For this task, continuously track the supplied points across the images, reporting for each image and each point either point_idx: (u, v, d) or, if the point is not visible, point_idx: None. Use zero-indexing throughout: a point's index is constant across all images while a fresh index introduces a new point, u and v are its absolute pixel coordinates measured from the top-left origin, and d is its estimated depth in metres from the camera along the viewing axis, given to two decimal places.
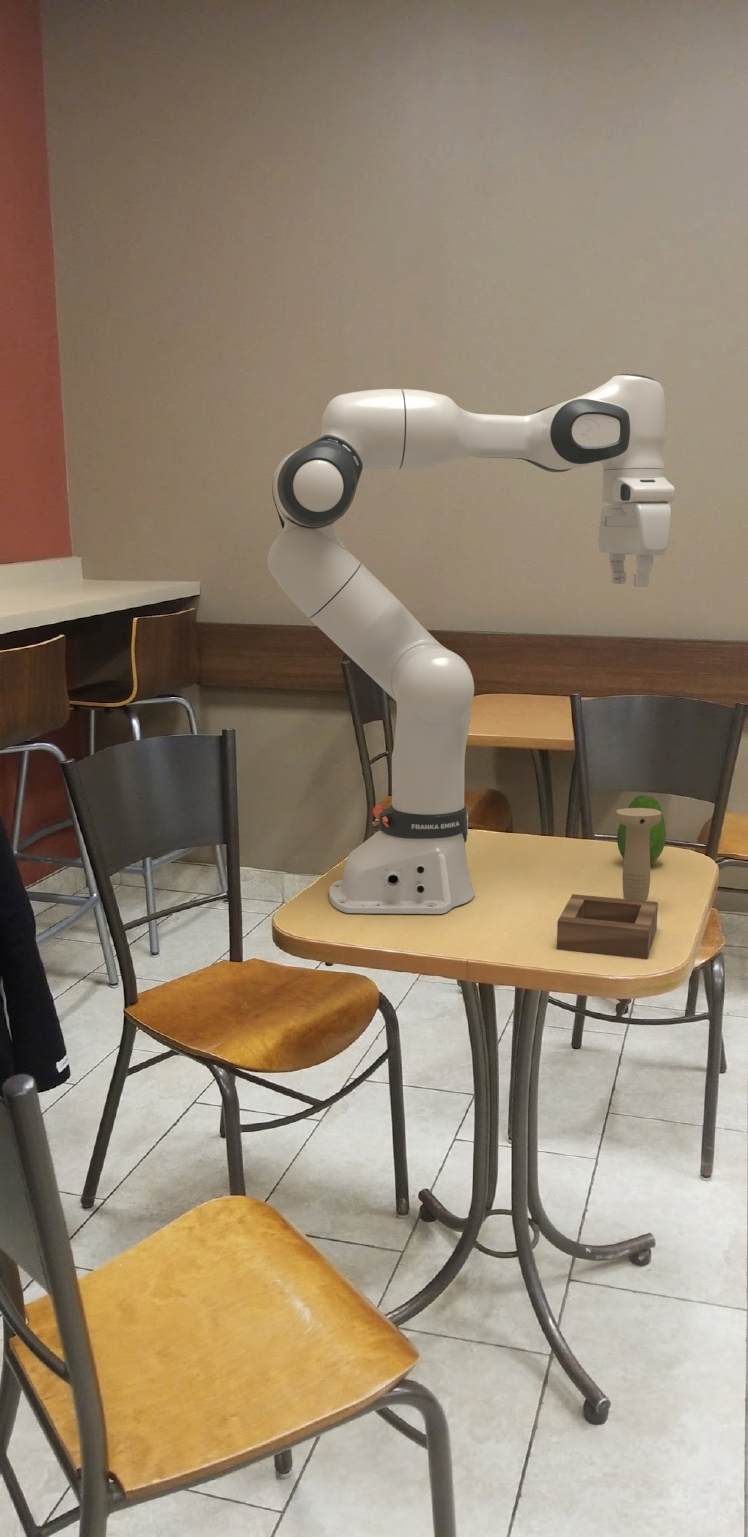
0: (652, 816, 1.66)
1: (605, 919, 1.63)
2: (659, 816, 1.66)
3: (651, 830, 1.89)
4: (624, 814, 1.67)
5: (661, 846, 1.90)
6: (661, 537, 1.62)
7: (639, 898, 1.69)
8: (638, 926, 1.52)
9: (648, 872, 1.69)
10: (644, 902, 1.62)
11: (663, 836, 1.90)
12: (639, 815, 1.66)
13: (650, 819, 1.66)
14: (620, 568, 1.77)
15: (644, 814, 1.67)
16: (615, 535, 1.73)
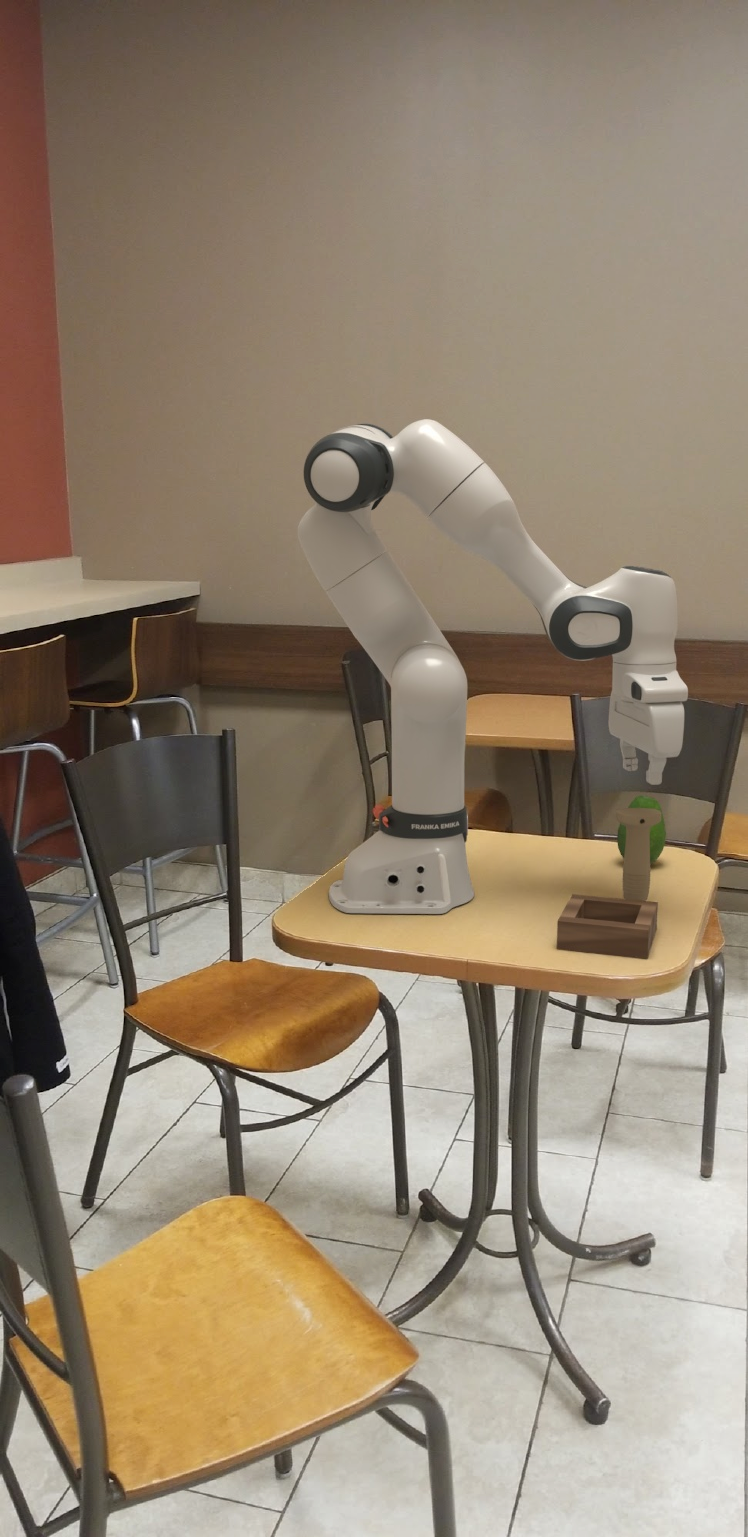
0: (652, 816, 1.66)
1: (605, 919, 1.63)
2: (659, 816, 1.66)
3: (651, 830, 1.89)
4: (624, 814, 1.67)
5: (661, 846, 1.90)
6: (674, 740, 1.56)
7: (639, 898, 1.69)
8: (638, 926, 1.52)
9: (648, 872, 1.69)
10: (644, 902, 1.62)
11: (663, 836, 1.90)
12: (639, 815, 1.66)
13: (650, 819, 1.66)
14: (631, 754, 1.71)
15: (644, 814, 1.67)
16: (626, 725, 1.67)
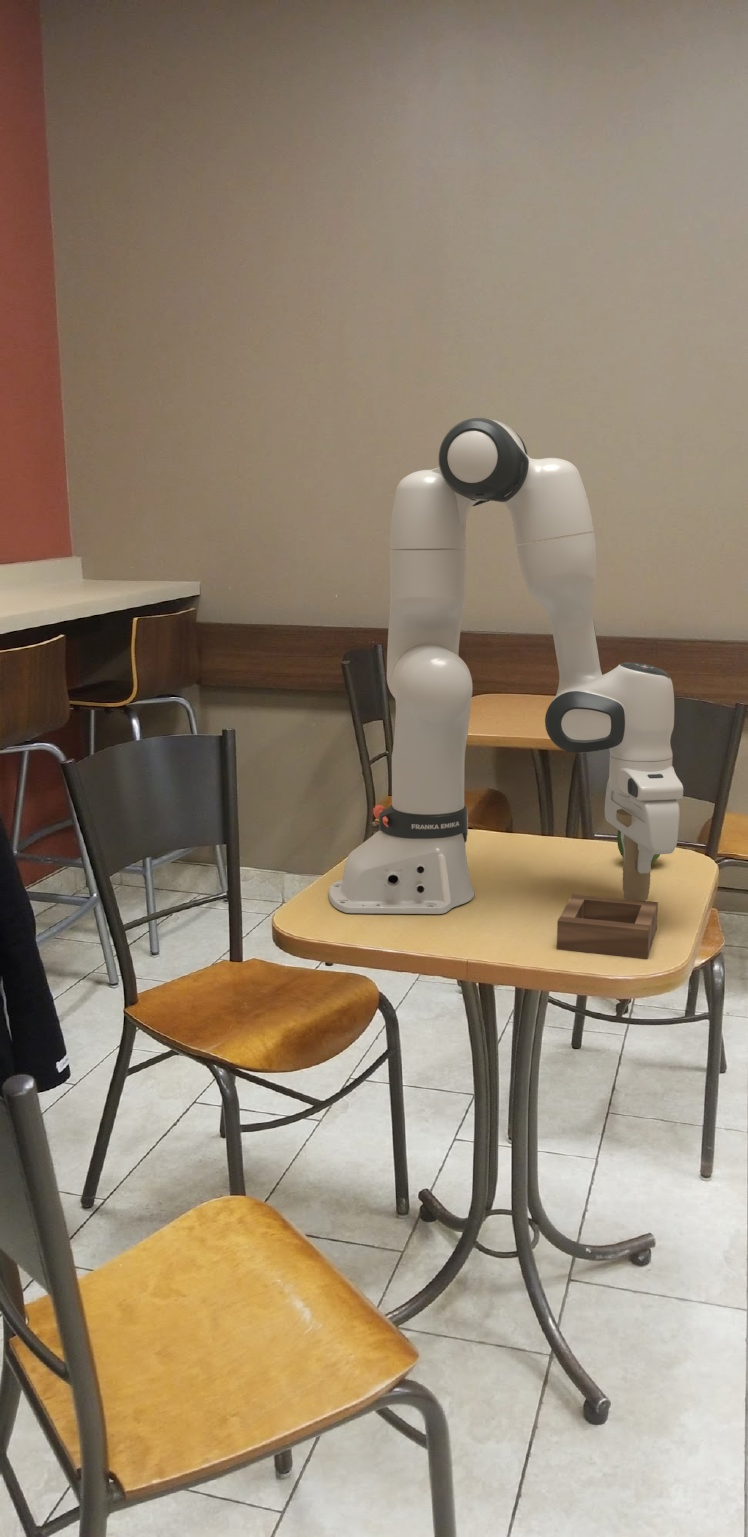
0: None
1: (605, 919, 1.63)
2: None
3: None
4: (624, 814, 1.67)
5: None
6: (669, 837, 1.59)
7: (639, 898, 1.69)
8: (638, 926, 1.52)
9: None
10: (644, 902, 1.62)
11: None
12: None
13: None
14: None
15: None
16: None
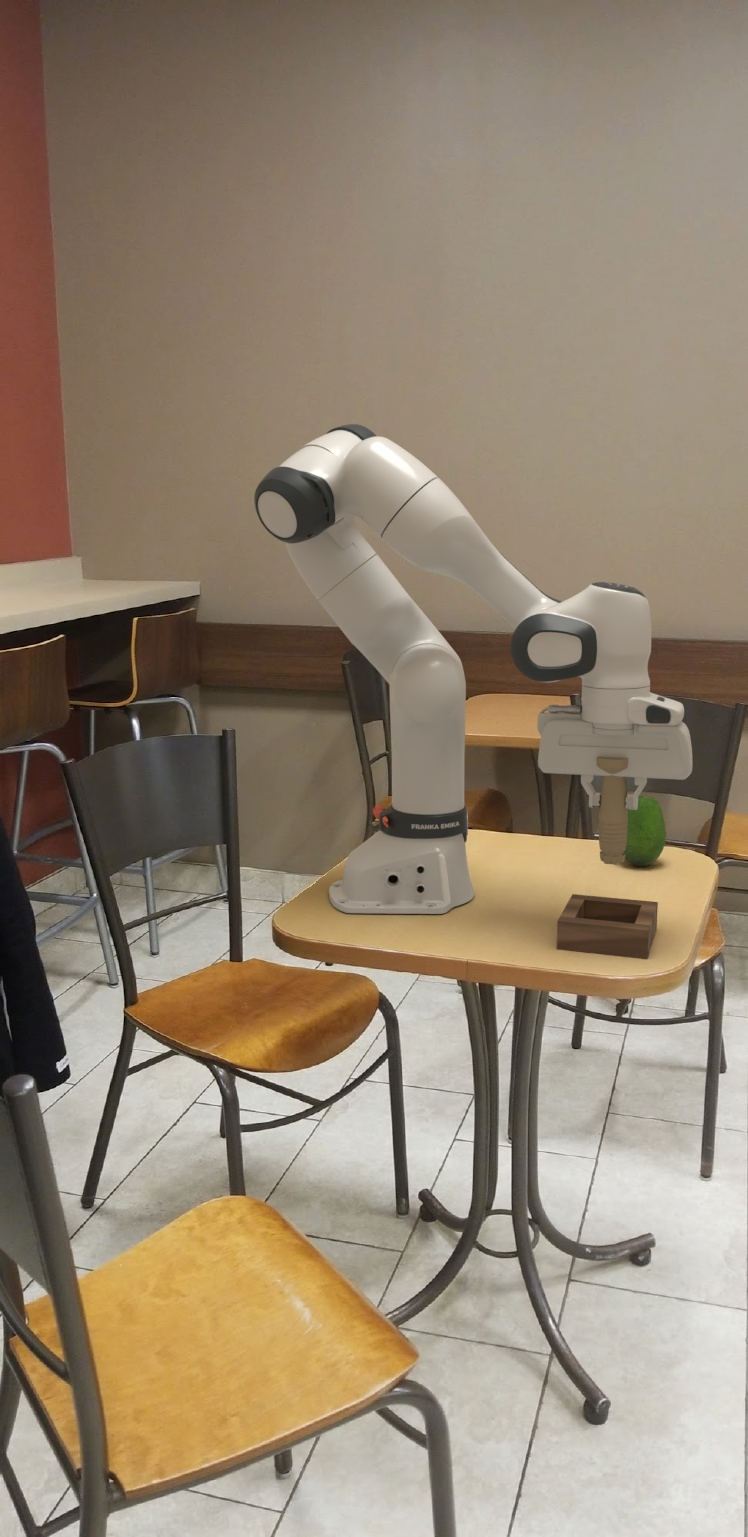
0: None
1: (605, 919, 1.63)
2: None
3: (651, 830, 1.89)
4: (620, 759, 1.51)
5: (661, 846, 1.90)
6: None
7: (625, 846, 1.56)
8: (638, 926, 1.52)
9: None
10: (644, 902, 1.62)
11: (663, 836, 1.90)
12: None
13: None
14: (593, 789, 1.56)
15: None
16: (598, 756, 1.53)
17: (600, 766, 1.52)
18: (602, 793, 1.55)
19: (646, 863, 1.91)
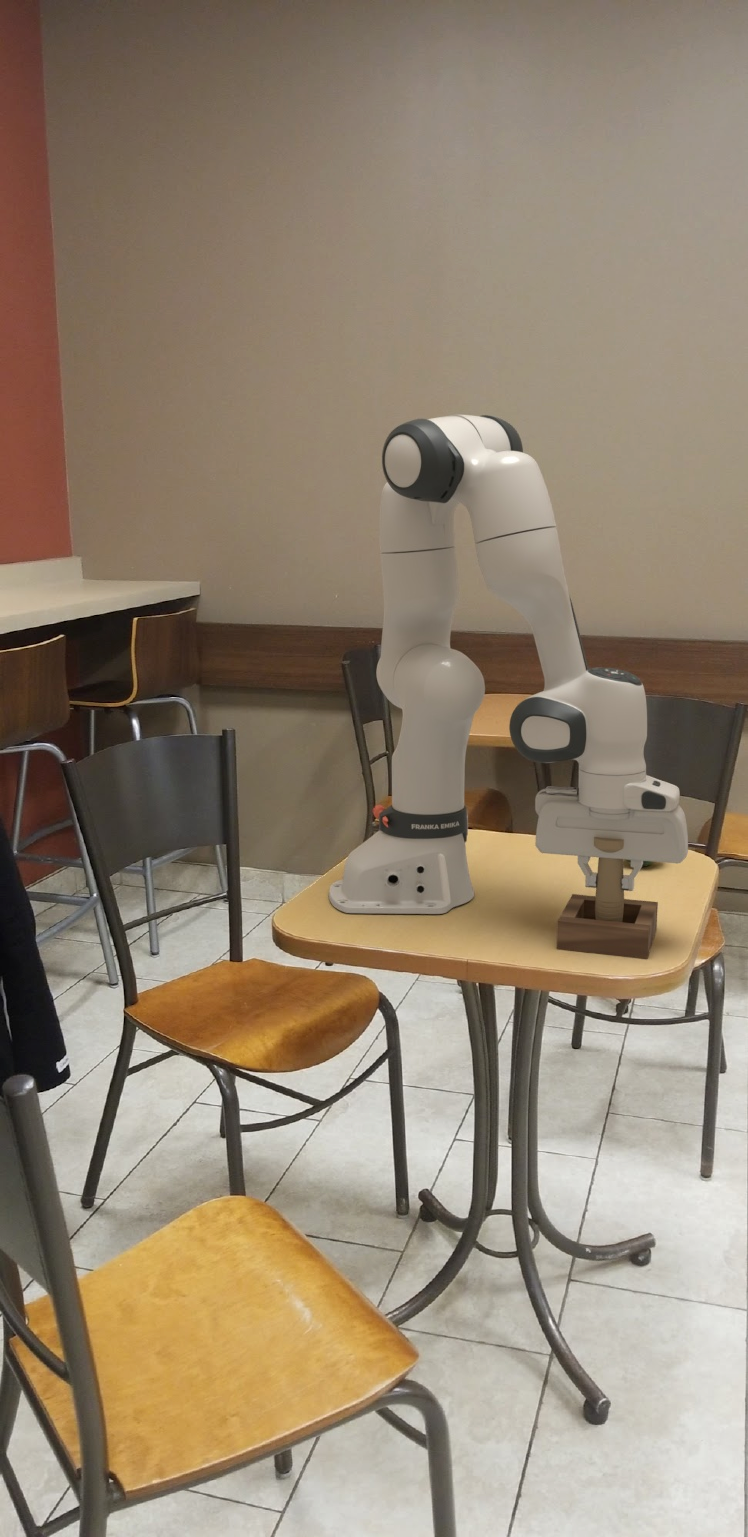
0: None
1: None
2: None
3: None
4: (617, 840, 1.53)
5: None
6: (687, 841, 1.53)
7: None
8: (638, 926, 1.52)
9: None
10: (644, 902, 1.62)
11: None
12: None
13: None
14: (589, 869, 1.58)
15: None
16: None
17: (597, 846, 1.54)
18: (599, 872, 1.57)
19: (646, 863, 1.91)
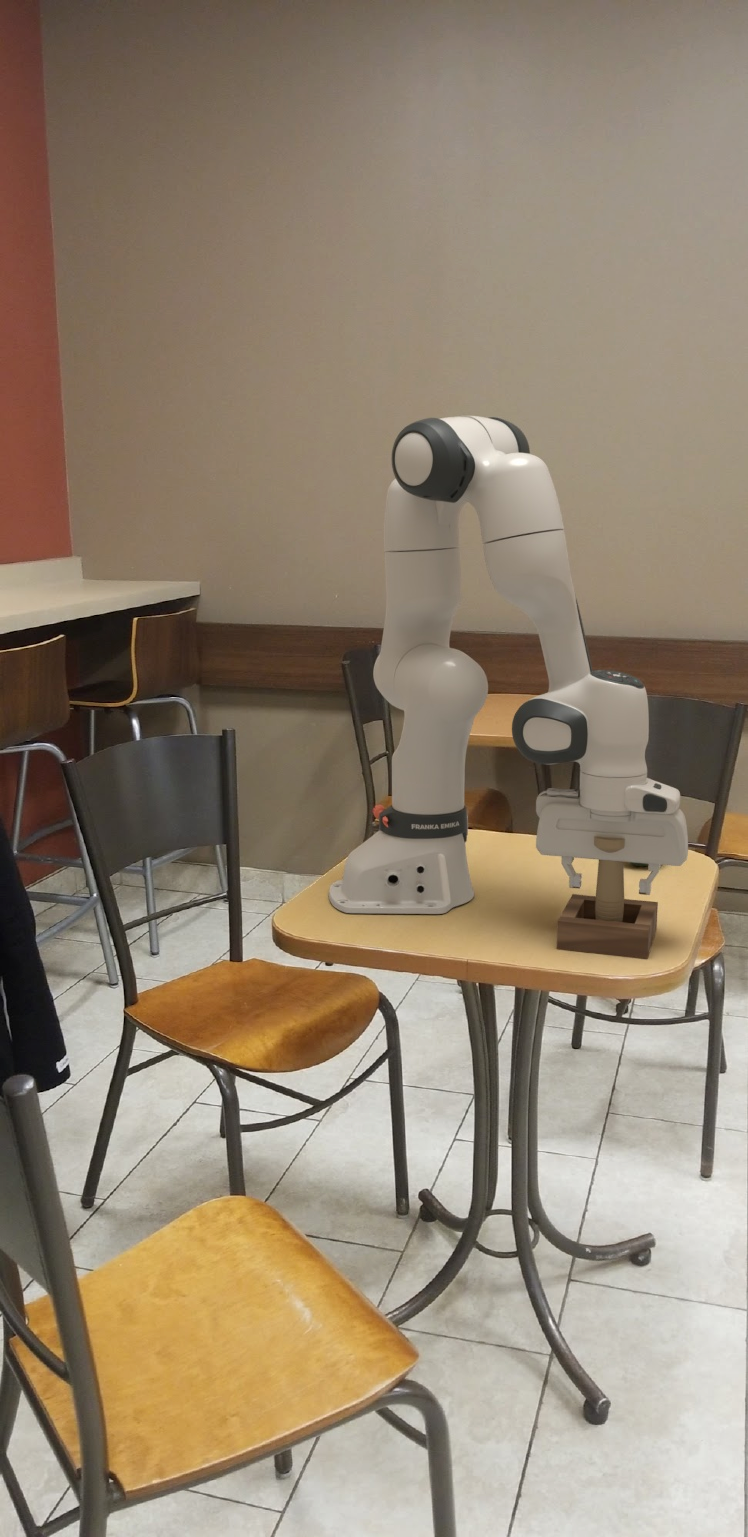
0: None
1: None
2: None
3: None
4: (617, 839, 1.54)
5: None
6: (687, 844, 1.54)
7: None
8: (638, 926, 1.52)
9: None
10: (644, 902, 1.62)
11: None
12: None
13: None
14: (573, 870, 1.59)
15: None
16: None
17: (597, 846, 1.54)
18: (599, 871, 1.57)
19: None
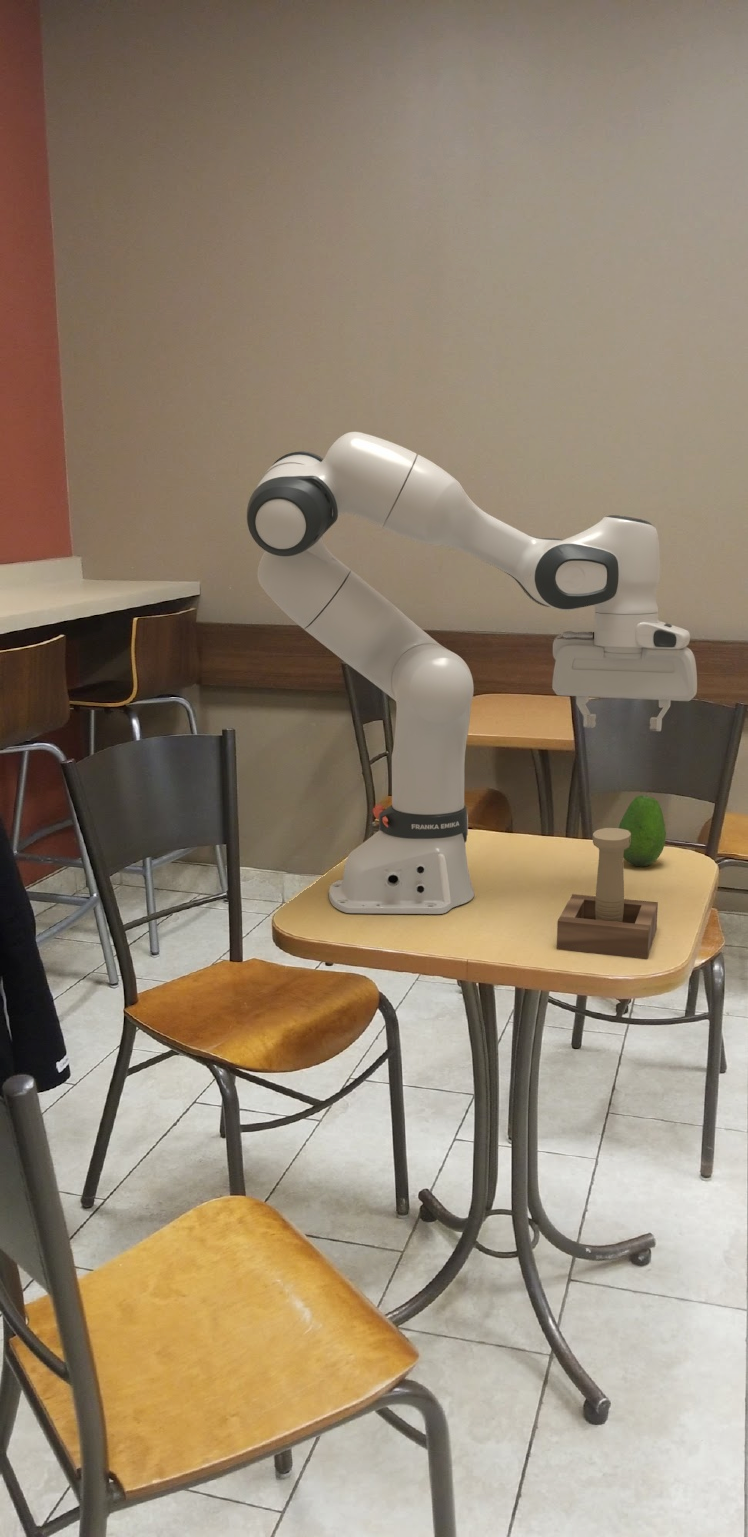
0: (630, 833, 1.57)
1: None
2: None
3: (651, 830, 1.89)
4: (617, 839, 1.54)
5: (661, 846, 1.90)
6: (696, 681, 1.62)
7: None
8: (638, 926, 1.52)
9: None
10: (644, 902, 1.62)
11: (663, 836, 1.90)
12: (625, 836, 1.55)
13: None
14: (587, 710, 1.68)
15: (622, 834, 1.56)
16: (608, 679, 1.64)
17: (597, 846, 1.55)
18: (599, 871, 1.57)
19: (646, 863, 1.91)
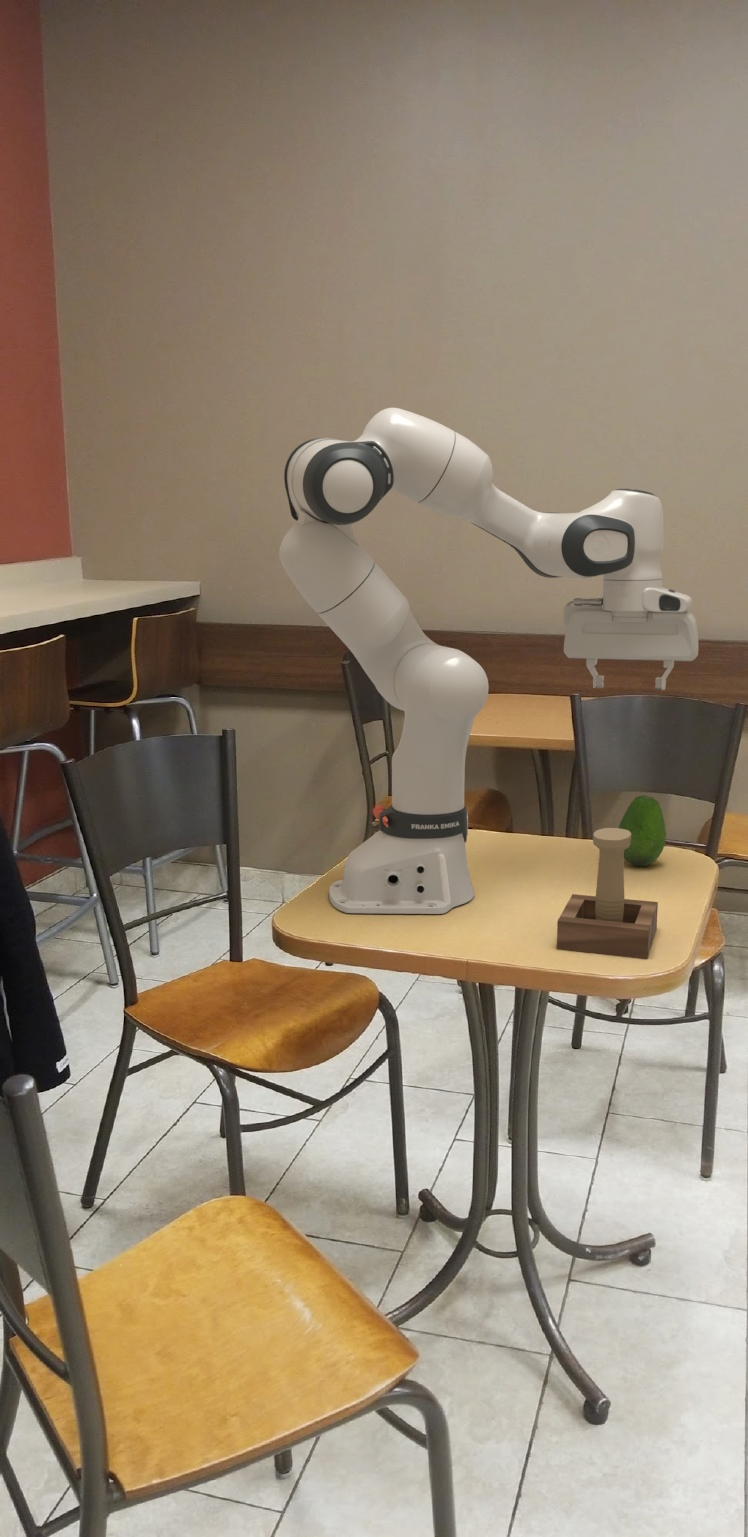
0: (630, 833, 1.57)
1: None
2: None
3: (651, 830, 1.89)
4: (617, 839, 1.54)
5: (661, 846, 1.90)
6: None
7: None
8: (638, 926, 1.52)
9: None
10: (644, 902, 1.62)
11: (663, 836, 1.90)
12: (626, 836, 1.55)
13: None
14: (596, 672, 1.80)
15: (623, 834, 1.56)
16: (617, 642, 1.76)
17: (597, 845, 1.55)
18: (599, 871, 1.57)
19: (646, 863, 1.91)
